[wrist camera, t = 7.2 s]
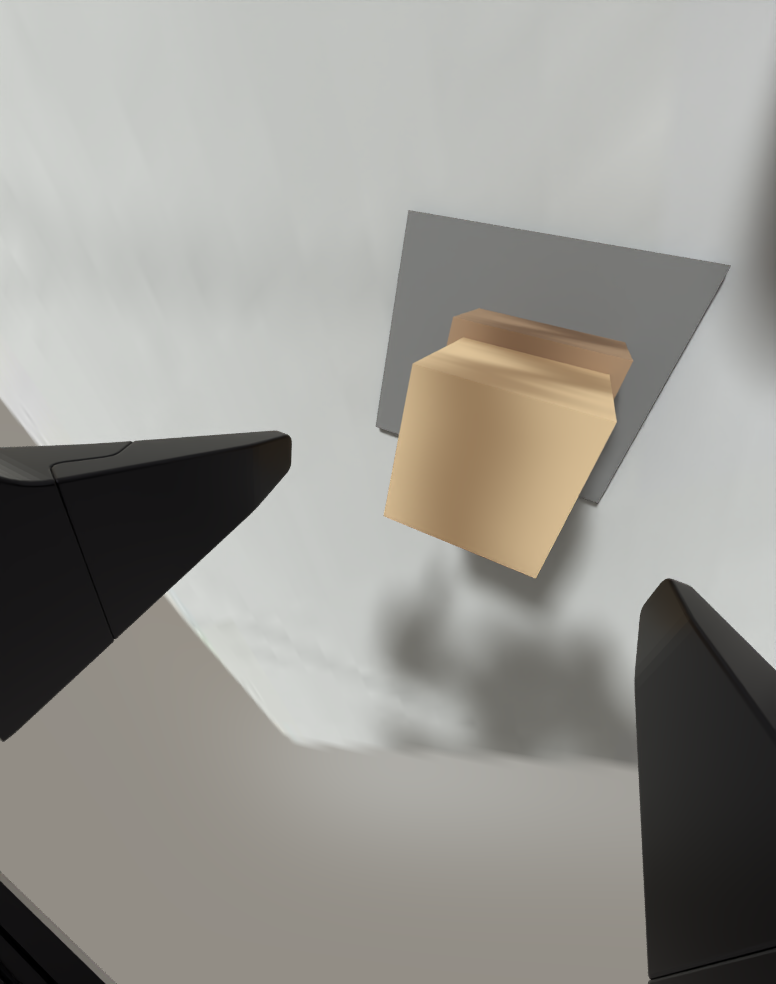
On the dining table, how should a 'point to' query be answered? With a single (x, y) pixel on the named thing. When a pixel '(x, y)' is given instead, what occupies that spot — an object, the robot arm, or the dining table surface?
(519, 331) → the walnut block
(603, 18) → the dining table surface
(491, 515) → the oak cube
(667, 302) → the slate mat
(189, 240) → the dining table surface
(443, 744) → the dining table surface
